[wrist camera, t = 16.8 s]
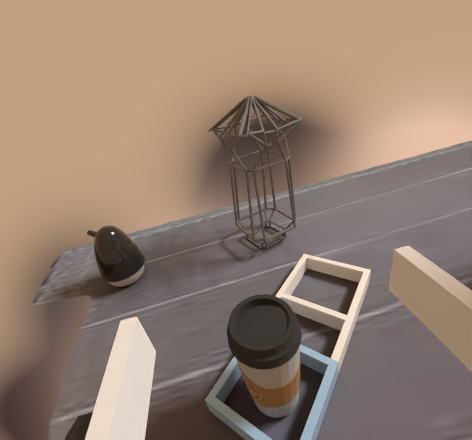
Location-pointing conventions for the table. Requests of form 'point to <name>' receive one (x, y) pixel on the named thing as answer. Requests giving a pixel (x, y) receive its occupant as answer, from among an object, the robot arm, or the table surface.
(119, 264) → the pump dispenser
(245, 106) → the geometric lantern
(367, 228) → the table surface
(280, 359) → the coffee cup
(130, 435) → the robot arm
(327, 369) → the gap frame
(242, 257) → the table surface
